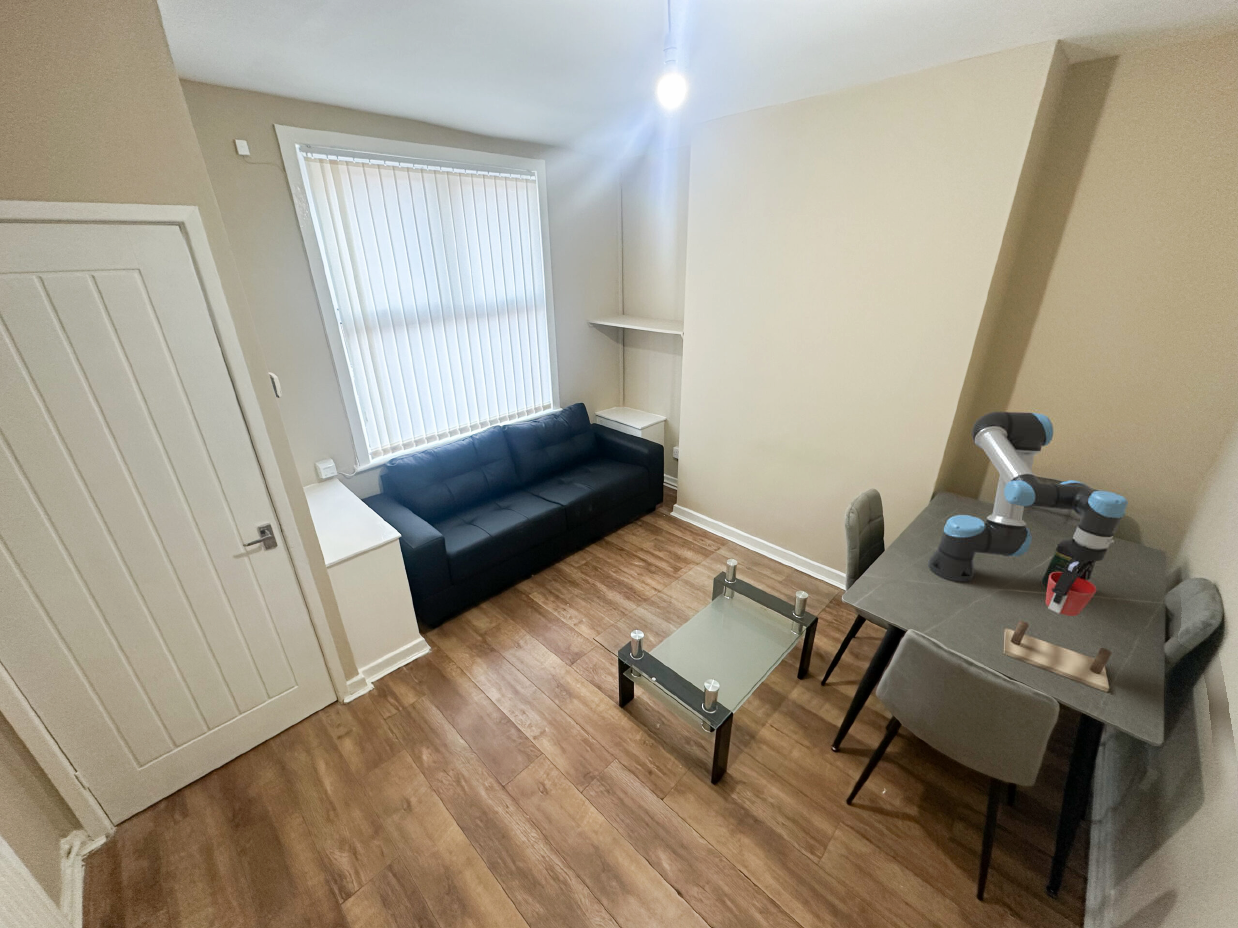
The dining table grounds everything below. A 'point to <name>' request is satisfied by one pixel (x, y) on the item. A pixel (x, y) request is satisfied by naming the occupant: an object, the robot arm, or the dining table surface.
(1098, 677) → the rack
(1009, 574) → the dining table surface
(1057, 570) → the coffee jar
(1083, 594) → the flower pot
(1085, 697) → the dining table surface
